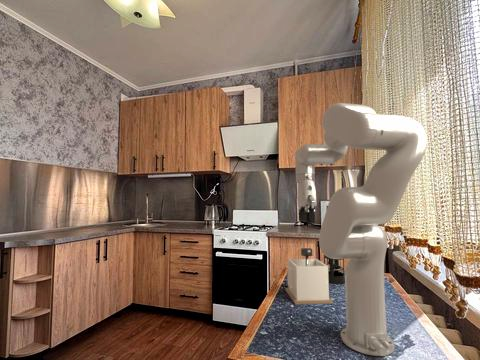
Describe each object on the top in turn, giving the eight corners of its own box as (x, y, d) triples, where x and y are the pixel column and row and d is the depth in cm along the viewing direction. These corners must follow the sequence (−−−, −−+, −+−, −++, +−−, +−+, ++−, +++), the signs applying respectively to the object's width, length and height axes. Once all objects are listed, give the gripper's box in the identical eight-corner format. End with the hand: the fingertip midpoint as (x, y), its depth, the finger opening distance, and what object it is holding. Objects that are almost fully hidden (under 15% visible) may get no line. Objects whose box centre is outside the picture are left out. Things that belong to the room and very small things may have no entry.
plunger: (324, 291, 94) (323, 251, 95) (299, 292, 93) (298, 251, 94) (315, 282, 104) (314, 246, 105) (291, 283, 103) (291, 246, 104)
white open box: (332, 303, 92) (331, 266, 93) (294, 304, 91) (293, 267, 92) (318, 289, 106) (317, 258, 107) (284, 290, 105) (284, 258, 106)
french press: (342, 286, 110) (341, 232, 112) (321, 282, 115) (319, 231, 117) (347, 279, 120) (346, 230, 122) (327, 275, 125) (326, 229, 127)
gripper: (322, 177, 93) (324, 223, 92) (307, 181, 111) (308, 220, 109) (302, 176, 93) (304, 223, 91) (290, 180, 110) (291, 220, 109)
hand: (306, 221), depth 100 cm, fingers open, 9 cm apart
